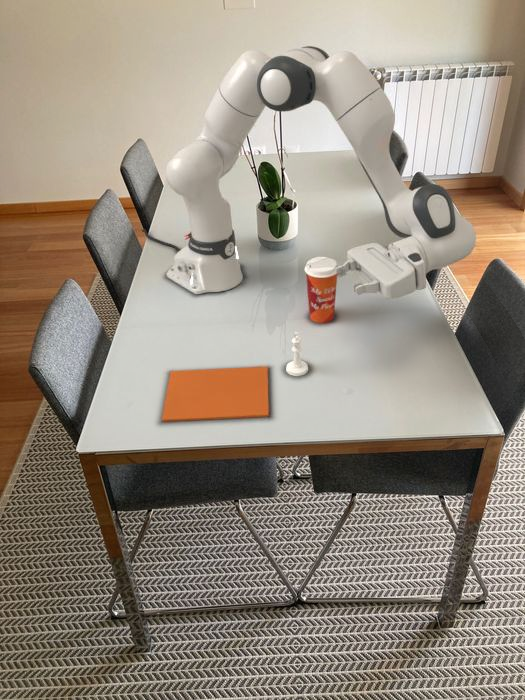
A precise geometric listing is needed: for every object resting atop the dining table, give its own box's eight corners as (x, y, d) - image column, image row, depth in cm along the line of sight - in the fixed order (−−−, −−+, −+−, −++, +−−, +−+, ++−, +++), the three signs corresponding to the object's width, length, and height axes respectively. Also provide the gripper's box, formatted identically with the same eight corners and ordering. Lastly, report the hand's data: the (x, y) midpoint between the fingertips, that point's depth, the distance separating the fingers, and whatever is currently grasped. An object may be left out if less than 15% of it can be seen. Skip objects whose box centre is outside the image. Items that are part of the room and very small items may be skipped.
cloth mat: (162, 421, 123) (161, 419, 123) (171, 373, 136) (170, 371, 136) (268, 416, 123) (268, 414, 123) (267, 368, 136) (267, 366, 135)
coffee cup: (311, 328, 147) (311, 274, 138) (301, 311, 154) (299, 259, 145) (343, 321, 149) (345, 268, 140) (331, 305, 155) (332, 253, 146)
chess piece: (307, 361, 137) (306, 325, 131) (309, 375, 133) (308, 338, 127) (285, 363, 137) (284, 327, 131) (286, 376, 133) (285, 340, 127)
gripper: (380, 231, 136) (324, 250, 134) (427, 264, 119) (365, 287, 117) (383, 255, 140) (329, 275, 138) (429, 291, 123) (368, 314, 121)
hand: (345, 281), depth 127 cm, fingers open, 8 cm apart
